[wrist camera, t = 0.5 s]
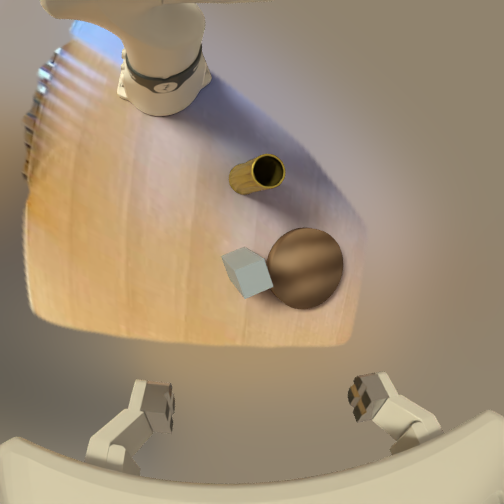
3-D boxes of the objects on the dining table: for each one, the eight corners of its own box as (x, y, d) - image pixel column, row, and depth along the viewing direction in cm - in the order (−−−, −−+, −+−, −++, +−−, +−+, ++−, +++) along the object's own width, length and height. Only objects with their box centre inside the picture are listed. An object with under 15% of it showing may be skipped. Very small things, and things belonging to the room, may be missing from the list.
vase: (263, 188, 53) (293, 183, 40) (235, 199, 52) (257, 197, 39) (252, 159, 52) (280, 145, 38) (223, 169, 50) (242, 157, 37)
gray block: (221, 256, 53) (234, 270, 42) (244, 246, 54) (264, 258, 43) (229, 279, 55) (244, 299, 43) (252, 269, 56) (273, 286, 44)
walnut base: (260, 235, 55) (265, 237, 52) (332, 221, 59) (339, 222, 56) (271, 313, 58) (276, 318, 56) (337, 293, 63) (344, 297, 60)
